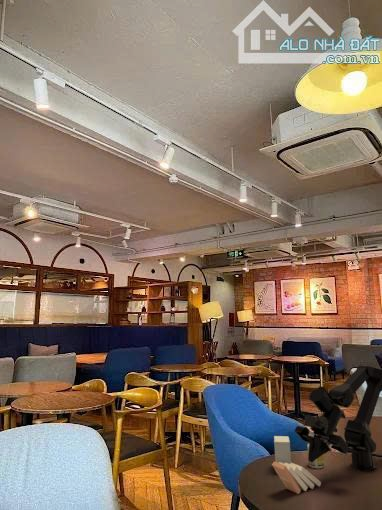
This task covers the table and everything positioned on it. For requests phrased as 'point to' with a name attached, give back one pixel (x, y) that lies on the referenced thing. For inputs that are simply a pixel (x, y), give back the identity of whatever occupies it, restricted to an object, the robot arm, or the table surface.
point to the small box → (282, 449)
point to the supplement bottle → (316, 461)
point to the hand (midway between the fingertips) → (309, 461)
